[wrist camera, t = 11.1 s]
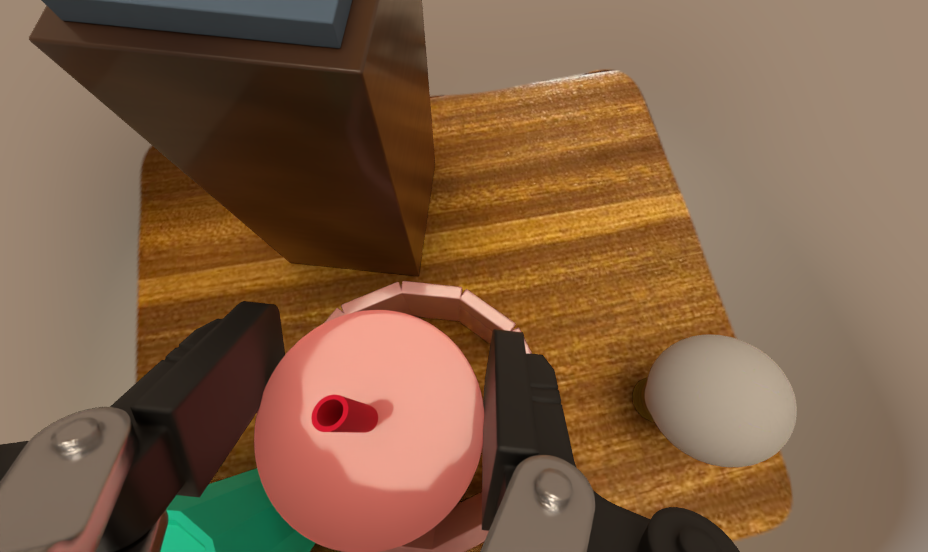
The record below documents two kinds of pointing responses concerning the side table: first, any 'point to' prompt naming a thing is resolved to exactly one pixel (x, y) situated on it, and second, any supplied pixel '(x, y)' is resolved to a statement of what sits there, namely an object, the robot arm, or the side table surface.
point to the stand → (282, 126)
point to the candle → (230, 520)
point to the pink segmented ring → (463, 524)
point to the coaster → (219, 17)
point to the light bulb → (718, 400)
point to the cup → (369, 431)
